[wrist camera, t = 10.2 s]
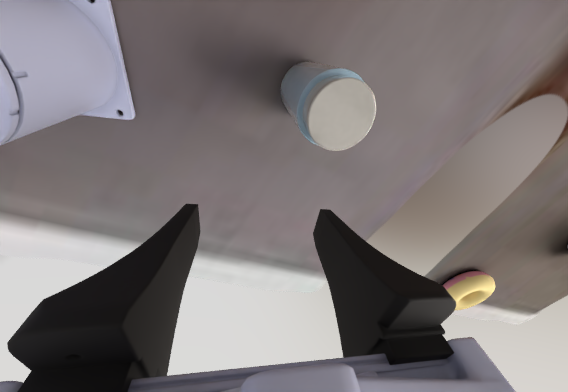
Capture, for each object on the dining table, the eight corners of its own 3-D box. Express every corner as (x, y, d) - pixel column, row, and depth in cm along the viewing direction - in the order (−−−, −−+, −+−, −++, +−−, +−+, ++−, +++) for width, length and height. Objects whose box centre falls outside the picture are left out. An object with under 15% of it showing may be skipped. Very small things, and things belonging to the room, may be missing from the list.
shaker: (277, 113, 20) (295, 152, 12) (284, 57, 17) (312, 63, 10) (322, 119, 20) (365, 159, 13) (335, 66, 18) (396, 78, 11)
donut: (478, 269, 45) (468, 258, 39) (503, 287, 41) (497, 279, 36) (440, 300, 47) (426, 294, 42) (462, 320, 43) (449, 317, 38)
